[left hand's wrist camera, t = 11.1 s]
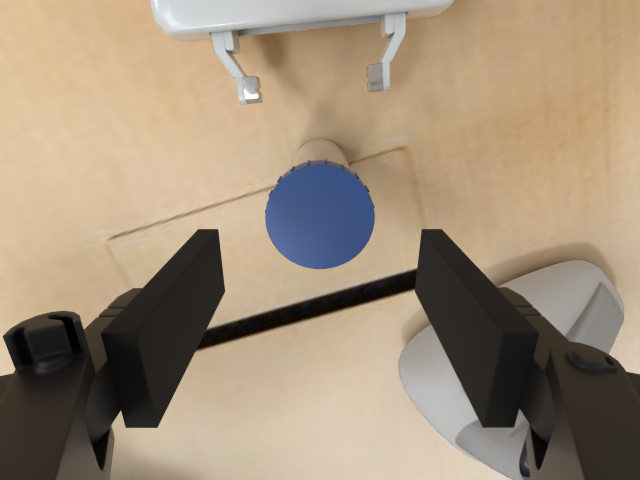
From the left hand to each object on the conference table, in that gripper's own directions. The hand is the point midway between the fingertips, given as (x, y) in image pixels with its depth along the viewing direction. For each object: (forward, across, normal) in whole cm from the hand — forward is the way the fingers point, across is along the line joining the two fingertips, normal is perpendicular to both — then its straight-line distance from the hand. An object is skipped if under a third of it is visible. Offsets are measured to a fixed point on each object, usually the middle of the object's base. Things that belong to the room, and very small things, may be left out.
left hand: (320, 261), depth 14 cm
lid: (+6, 0, 0) cm, 6 cm away
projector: (+22, +21, -19) cm, 35 cm away
